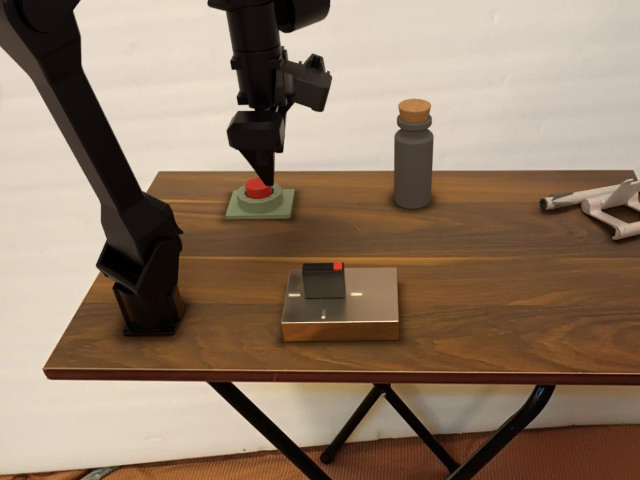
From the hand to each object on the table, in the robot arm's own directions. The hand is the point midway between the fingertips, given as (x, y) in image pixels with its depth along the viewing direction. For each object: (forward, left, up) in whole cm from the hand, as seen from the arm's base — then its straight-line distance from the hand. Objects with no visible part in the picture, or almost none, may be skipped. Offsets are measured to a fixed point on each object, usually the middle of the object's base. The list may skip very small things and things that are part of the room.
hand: (274, 168), depth 85 cm
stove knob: (+7, -17, -8) cm, 20 cm away
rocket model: (+38, +7, -10) cm, 40 cm away
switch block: (-5, +10, -11) cm, 16 cm away
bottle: (+19, +11, -11) cm, 25 cm away
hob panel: (+9, -17, -11) cm, 22 cm away
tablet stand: (+52, +1, -7) cm, 52 cm away
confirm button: (-5, +10, -9) cm, 14 cm away
